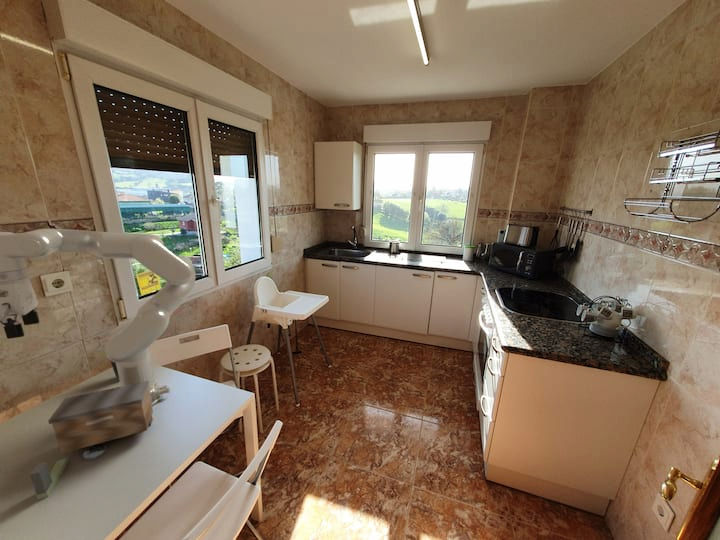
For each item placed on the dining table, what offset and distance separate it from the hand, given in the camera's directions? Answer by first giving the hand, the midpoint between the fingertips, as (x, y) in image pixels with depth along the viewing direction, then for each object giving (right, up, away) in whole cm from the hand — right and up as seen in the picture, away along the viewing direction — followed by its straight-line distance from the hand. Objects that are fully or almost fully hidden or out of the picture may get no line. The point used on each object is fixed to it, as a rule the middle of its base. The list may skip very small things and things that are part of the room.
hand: (24, 330), depth 84 cm
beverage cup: (+1, -28, +34) cm, 44 cm away
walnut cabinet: (+22, -36, +5) cm, 42 cm away
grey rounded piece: (+22, -37, 0) cm, 43 cm away
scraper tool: (+18, -39, -8) cm, 44 cm away
